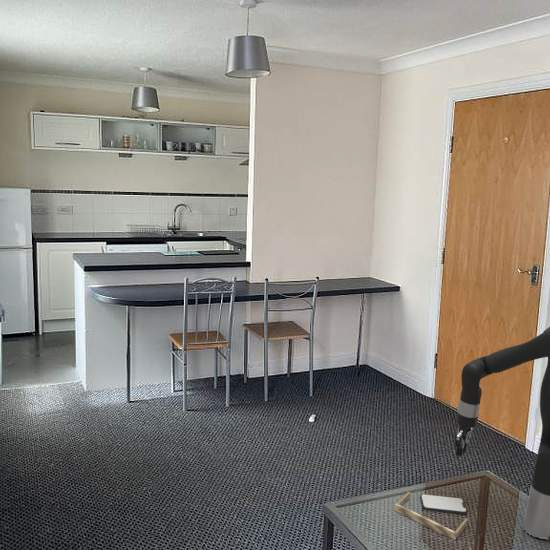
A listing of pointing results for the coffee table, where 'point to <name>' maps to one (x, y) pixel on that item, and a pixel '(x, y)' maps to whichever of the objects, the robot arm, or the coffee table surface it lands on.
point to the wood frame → (426, 521)
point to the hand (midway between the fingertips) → (460, 453)
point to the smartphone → (443, 504)
